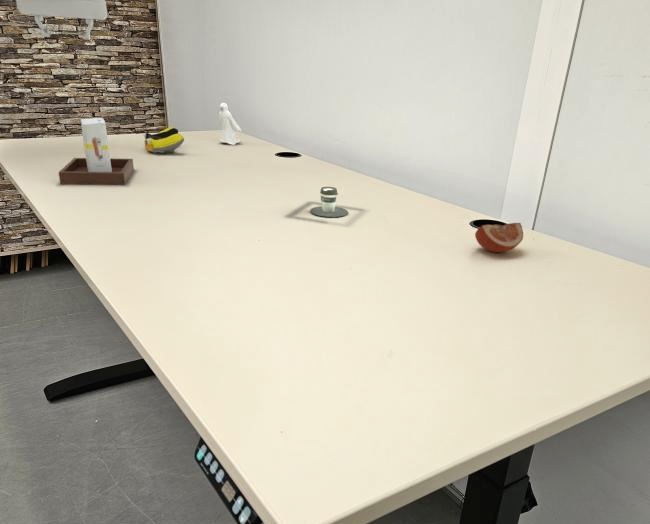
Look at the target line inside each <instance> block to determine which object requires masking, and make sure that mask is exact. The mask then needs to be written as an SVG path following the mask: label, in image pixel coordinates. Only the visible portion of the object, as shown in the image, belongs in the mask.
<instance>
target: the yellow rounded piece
mask: <svg viewBox="0 0 650 524" xmlns="http://www.w3.org/2000/svg"><path fill="white" fill-rule="evenodd" d="M142 135H143V137H144V139H145V140H144V148H146V151H148V152H152V153H165V154H166V153H167V154H168V153H171V152H173V151H175V150H177V149H178V148H180V147H181V146H182V144H183V143H184V142H185V137H184V135H183V134H181V133H179V130H178V128H176V127H174V126H170V127H167V128H165V129H163V130H161V131H159V132H158V133H154V134H151V133H149V132H145V133H143V134H142Z"/></svg>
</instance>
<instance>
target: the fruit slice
mask: <svg viewBox="0 0 650 524" xmlns="http://www.w3.org/2000/svg"><path fill="white" fill-rule="evenodd" d="M474 236H475V240H476V242H477V243H478V245H479V246H480V247H482V248H483V249H484V250H487V251H489V252H493V253H503V252H507V251H511V250H513V249H515V248H516V247H517V246H519V244H521V242H522V241H523V240H524V229H523V225H522V223H521V222H511V223H506V224H504V225H502V224H497V223H496V224H482V225H480V226H479V227H478V229H476V231H475V233H474Z"/></svg>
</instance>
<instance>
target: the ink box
mask: <svg viewBox="0 0 650 524" xmlns="http://www.w3.org/2000/svg"><path fill="white" fill-rule="evenodd" d="M80 126H81V132H82V140H83V148H84V155H85V158H86V163H87V170H88V172H112V169H111V162H110V158H111V155H110V150H109V149H110V147H109V139H108V133H107V125H106V121H105V119H104V117H89V118H80Z"/></svg>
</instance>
